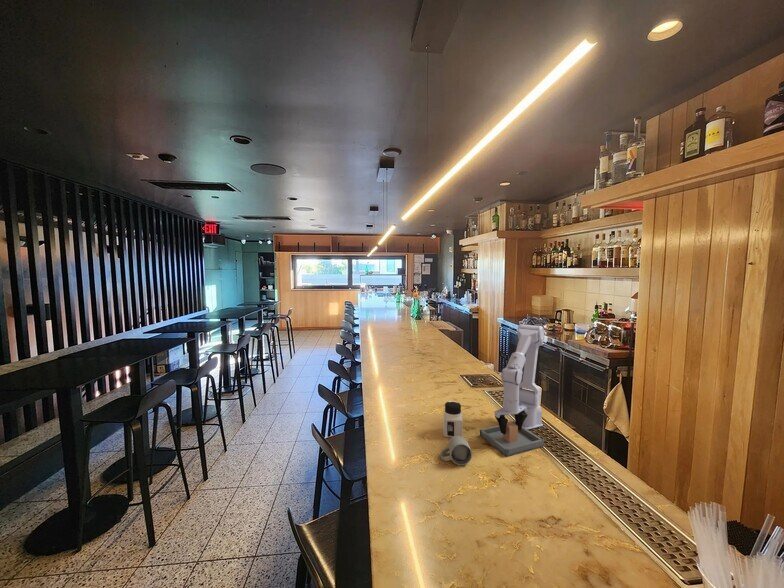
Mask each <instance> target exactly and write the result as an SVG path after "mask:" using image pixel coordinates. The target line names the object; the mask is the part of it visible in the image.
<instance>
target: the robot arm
mask: <svg viewBox="0 0 784 588" xmlns="http://www.w3.org/2000/svg"><path fill="white" fill-rule="evenodd" d="M516 333H517V337H518V341H517V346H516V349H515V351H514V352H512V353H511V354H510V357H509V359H508V363H507V364H506V367H504V368H503V369H502V370H501V374H500V379H501V383H502V384H501V385H502V386H503V405H502V407H500V408H499V409H498V410H494V417H495V419H496V422H497V423H498V425H499V427H500V431H501V433H502V434H504V435H505V434H506V426H507V422H509V419H508V418H507V417H506V416H508V415H514V420H513V422H515V424H516V425H517V426H518V430H519V431H521V428H522V427H524V428H525V429H527V430H528V431H529V430H531V429H536V428H538V427H539V428H540V427H543V426H544V424H543V423H542V420H543V419H542V418H543V416H542V415H543V410H542V407H541V406H540V404H541V402H542V401H541V400H542V396H541V393H542V392H541V388H540V387H539V386H538V385H537V384H536V383H535V381H536V372H537V362H538V354H539V349H540V346H543V345H544V340H545V329H544V327H543V326H542V325H534V324H533V325H532V324H523V323H520V324H519V325H518V327H517V329H516Z"/></svg>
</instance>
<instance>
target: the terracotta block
mask: <svg viewBox="0 0 784 588" xmlns="http://www.w3.org/2000/svg"><path fill="white" fill-rule="evenodd" d="M513 422H514V421H508V422H507V426H506V434H505V435H504V434H503V438H504V439H505V440H507V441H508V442H514V441H518V426H517V425H516V424H514V423H513Z"/></svg>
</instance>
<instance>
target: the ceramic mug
mask: <svg viewBox="0 0 784 588" xmlns="http://www.w3.org/2000/svg"><path fill="white" fill-rule="evenodd" d="M447 453H449V455H446V454H447ZM439 455H440V458H441V460H442V461H444V462H448V461H452V462H453V464H455V465H458V466H465V465H467V464H469V463H470V461H471V460H472V457H473V452H472V449H471V446H470V445H469V443H468V441H467V439H466V438H465V437H464V436H463V437H462V436H459V435H456V436H453V437H450V439H449V441H448V447H446V448H444V449H442V451H441V452H440V454H439ZM444 455H446V456H444Z"/></svg>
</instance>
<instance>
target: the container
mask: <svg viewBox="0 0 784 588" xmlns="http://www.w3.org/2000/svg"><path fill="white" fill-rule="evenodd" d="M442 420H443V422H442V423H443V425H442V430H443V431H442V433H443V435H442V436H443V437H445V438H452V437H453V436H456V435H459V436H462V437H464V436H463V424H464V423H463V412H462V404H461V403H460V402H458V401H456V400H449V401H447V402H445V404H444V411H443V419H442Z"/></svg>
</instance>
